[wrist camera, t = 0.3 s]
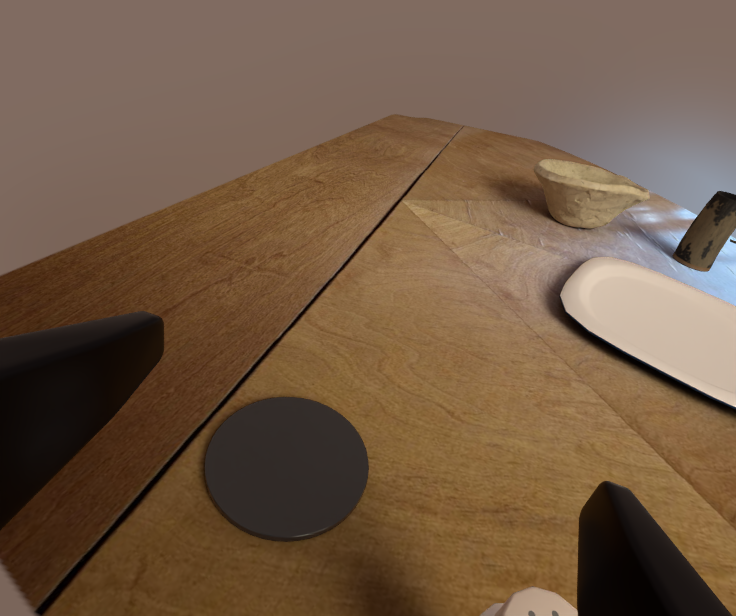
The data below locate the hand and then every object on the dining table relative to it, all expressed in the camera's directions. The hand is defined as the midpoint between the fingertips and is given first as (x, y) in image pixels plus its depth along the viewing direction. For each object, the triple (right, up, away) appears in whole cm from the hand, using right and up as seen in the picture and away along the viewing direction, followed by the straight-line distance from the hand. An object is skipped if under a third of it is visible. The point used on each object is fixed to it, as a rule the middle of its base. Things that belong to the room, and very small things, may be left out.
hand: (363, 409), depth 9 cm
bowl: (+35, +17, +69) cm, 79 cm away
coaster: (-5, -8, +19) cm, 21 cm away
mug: (+53, +9, +63) cm, 83 cm away
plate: (+35, -1, +43) cm, 56 cm away
